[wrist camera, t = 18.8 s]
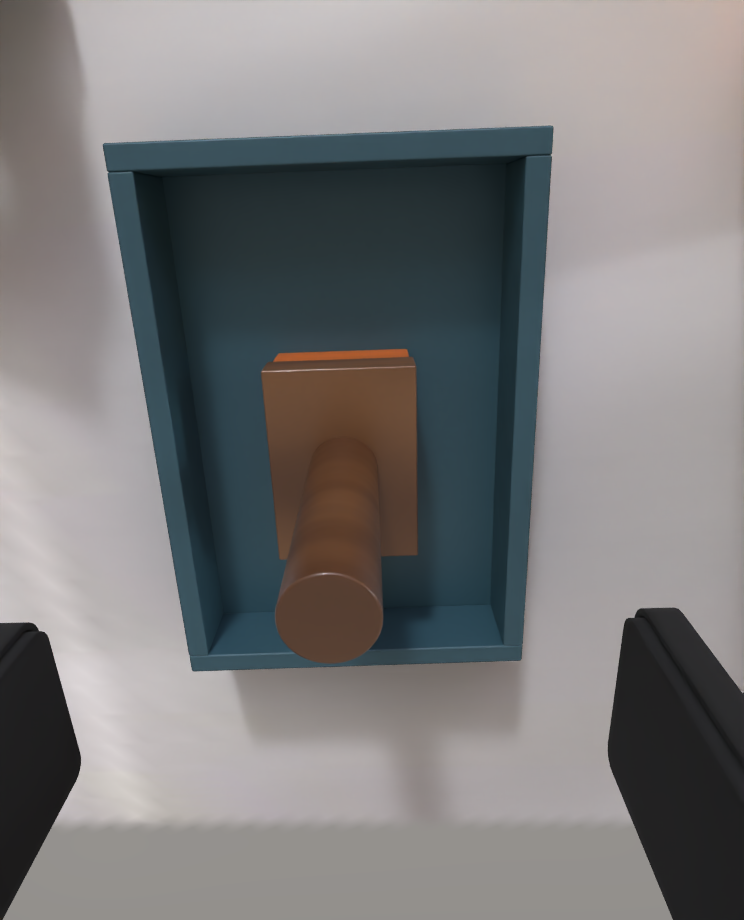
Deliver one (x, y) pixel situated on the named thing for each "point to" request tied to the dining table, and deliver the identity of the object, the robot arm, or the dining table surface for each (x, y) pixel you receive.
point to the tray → (342, 329)
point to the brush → (340, 491)
